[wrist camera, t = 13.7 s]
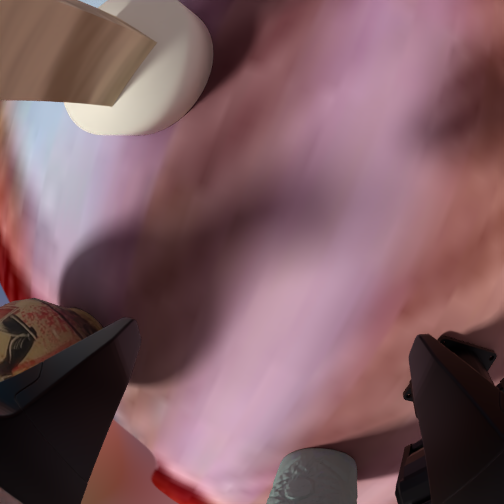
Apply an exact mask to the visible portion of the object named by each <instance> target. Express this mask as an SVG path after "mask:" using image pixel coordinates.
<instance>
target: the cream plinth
mask: <svg viewBox="0 0 504 504" xmlns="http://www.w3.org/2000/svg"><path fill="white" fill-rule="evenodd" d="M98 9H100V10H103V11H105V12H107V13H110V14H112V15H114V16H116V17H118V18H120V19H121V20H123V21H124V22H126V23H128V24H129V25H131V26H132V27H134V28H136V29H137V30H139V31H140V32H142V33H143V34H145V35H146V36H148V37H149V38H151V39H152V40H154V41H155V42H157V44H156V45H155V46H154V48H153V49H152V50H151V52H150V53H149V54H148V56H147V57H146V58H145V60H144V61H143V62H142V64H141V65H140V66H139V68H138V69H137V70H136V72H135V73H134V75H133V76H132V78H131V79H130V80H129V82H128V83H127V85H126V86H125V88H124V89H123V91H122V92H121V94H120V95H119V97H118V99H117V100H116V102H115V103H114V105H113V106H112V107H110V106H101V105H91V104H81V103H68V102H64V104H65V107H66V110H67V112H68V114H69V116H70V117H71V119H72V120H73V121H74V123H75V124H76V125H77V126H79V127H80V128H81V129H83V130H84V131H87V132H89V133H92V134H96V135H133V136H140V135H149V134H153V133H156V132H159V131H162V130H164V129H166V128H167V127H169V126H171V125H172V124H174V123H175V122H177V121H178V120H179V119H180V118H182V117H183V116H184V115H185V114H186V113H187V112H188V111H189V110H190V109H191V108H192V106H193V105H194V104H195V103H196V101H197V100H198V98H199V97H200V95H201V93H202V92H203V90H204V88H205V86H206V84H207V82H208V79H209V76H210V73H211V68H212V64H213V43H212V39H211V35H210V33H209V30H208V29H207V27H206V25H205V24H204V22H203V21H202V20H201V19H200V18H199V17H198V16H197V15H195V14H194V13H193V12H192V11H190V10H189V9H188V8H187V7H185V6H184V5H183V4H182V3H180V2H179V1H178V0H108V1H106V2H105V3H104V4H102V5H101V6H100V7H99V8H98Z"/></svg>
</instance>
